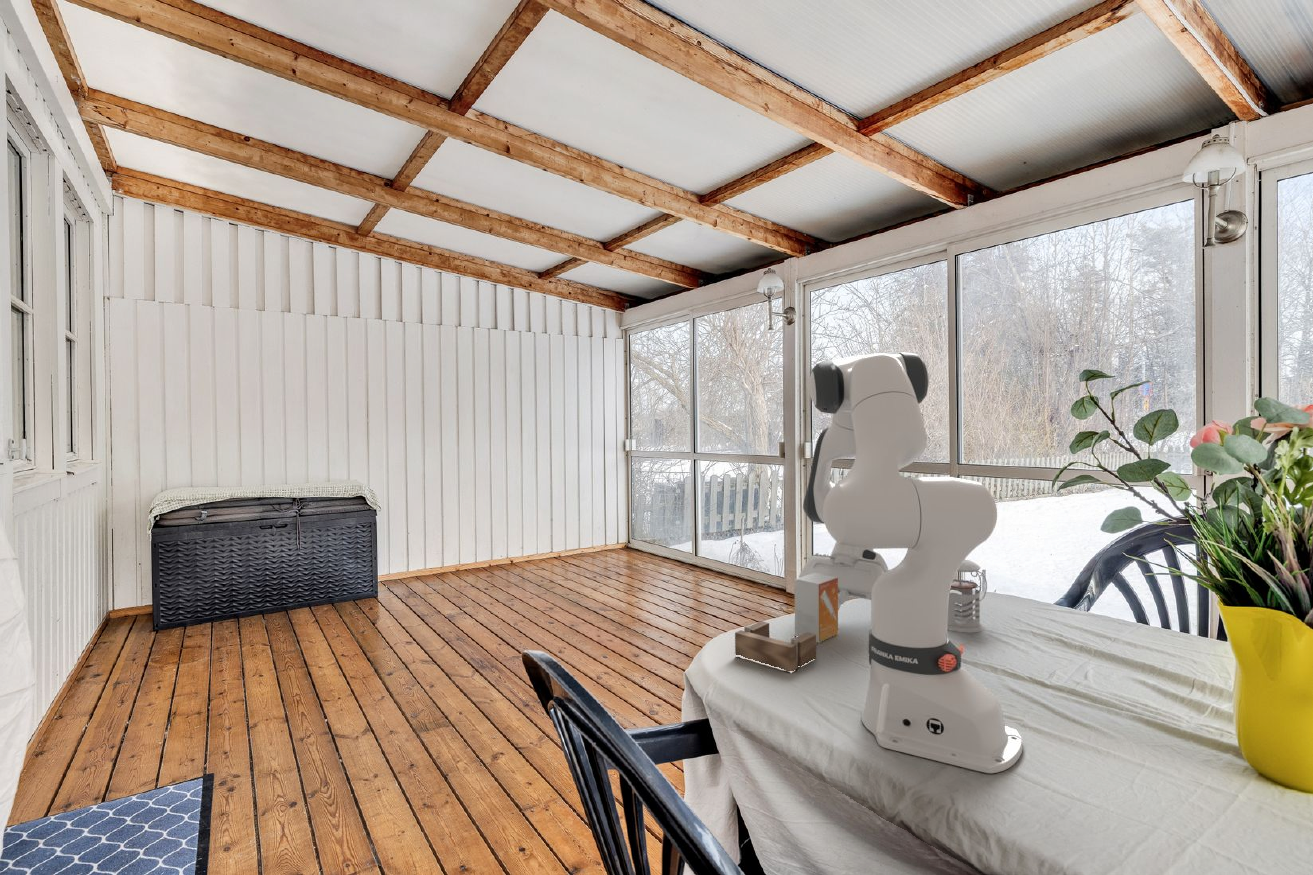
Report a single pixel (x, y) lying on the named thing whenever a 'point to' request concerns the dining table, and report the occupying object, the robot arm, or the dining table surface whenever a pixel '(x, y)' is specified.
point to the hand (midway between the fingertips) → (831, 608)
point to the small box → (816, 606)
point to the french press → (965, 602)
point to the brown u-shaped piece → (774, 647)
